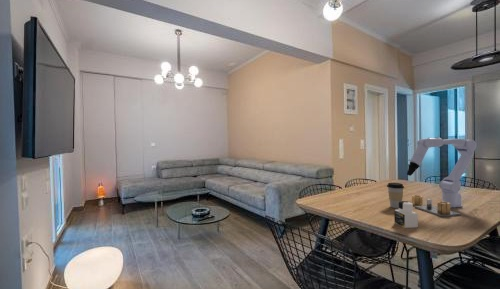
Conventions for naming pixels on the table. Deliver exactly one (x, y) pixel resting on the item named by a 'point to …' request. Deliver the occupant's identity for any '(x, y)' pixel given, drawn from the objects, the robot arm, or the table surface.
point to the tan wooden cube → (417, 200)
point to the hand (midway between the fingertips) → (409, 174)
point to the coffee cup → (395, 194)
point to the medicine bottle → (406, 215)
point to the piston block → (438, 209)
